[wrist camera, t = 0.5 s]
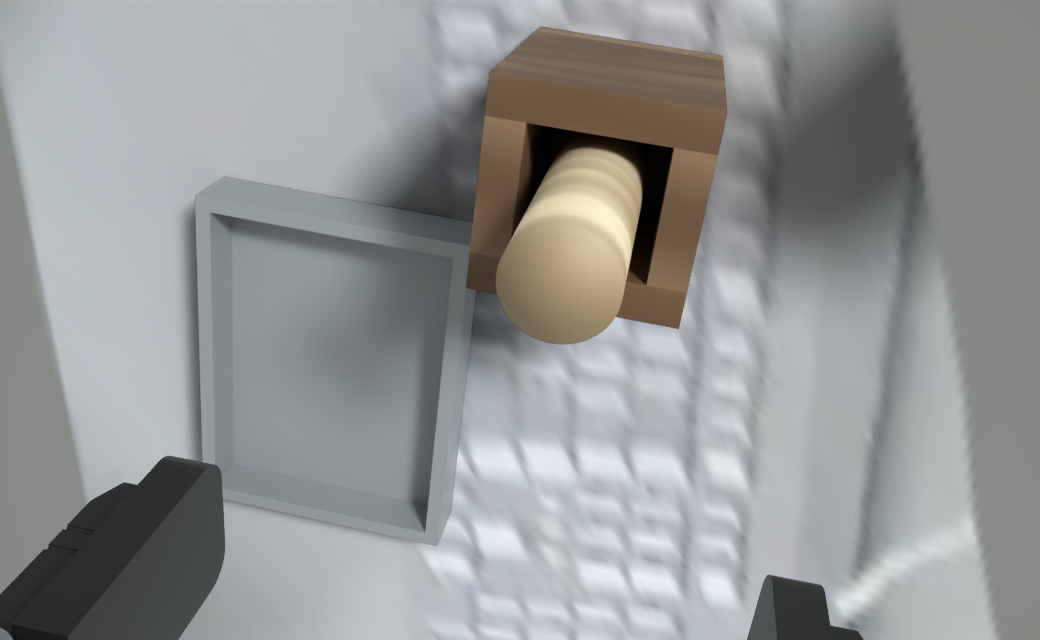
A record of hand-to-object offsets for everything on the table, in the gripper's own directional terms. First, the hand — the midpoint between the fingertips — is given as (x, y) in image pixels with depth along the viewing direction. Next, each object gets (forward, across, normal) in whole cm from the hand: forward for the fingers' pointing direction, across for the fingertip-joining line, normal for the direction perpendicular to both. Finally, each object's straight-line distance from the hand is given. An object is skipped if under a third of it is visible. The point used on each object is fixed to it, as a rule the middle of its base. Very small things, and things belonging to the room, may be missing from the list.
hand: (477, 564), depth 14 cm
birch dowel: (+24, 0, 0) cm, 24 cm away
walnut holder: (+24, 0, 0) cm, 25 cm away
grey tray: (+24, +10, +12) cm, 29 cm away
